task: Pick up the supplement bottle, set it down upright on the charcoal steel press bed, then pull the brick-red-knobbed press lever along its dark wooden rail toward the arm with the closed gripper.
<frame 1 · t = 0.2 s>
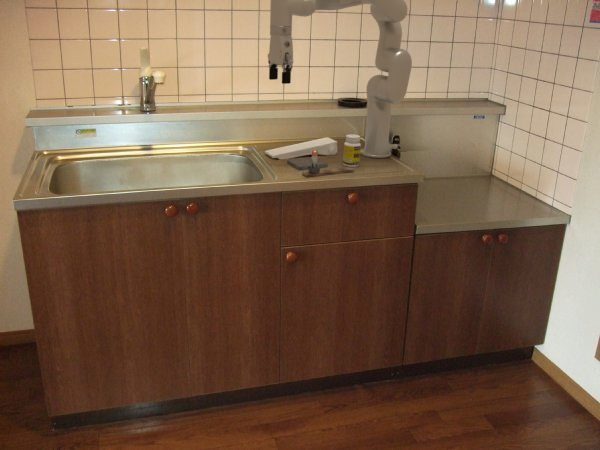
hand: (279, 81, 217), 31 cm above the countertop, tool pointing down, fingers open, 9 cm apart
press bed: (307, 165, 229), on the countertop
wall bracket: (301, 156, 244), on the countertop
lever rail: (328, 173, 220), on the countertop
supplement bottle: (350, 165, 232), on the countertop
press lever: (314, 160, 215), point 5 cm above the countertop, slide at 0.0 cm
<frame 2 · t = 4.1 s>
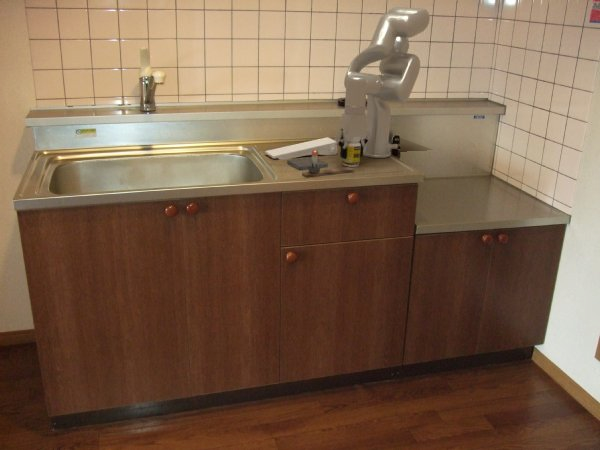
hand: (351, 156, 231), 3 cm above the countertop, tool pointing down, fingers closed on supplement bottle, 6 cm apart
supplement bottle: (350, 165, 232), on the countertop, touching gripper
everything else where it was.
when the fingers open (5 cm above the countertop, at t = 9.9 s): supplement bottle drops 1 cm, resting on press bed.
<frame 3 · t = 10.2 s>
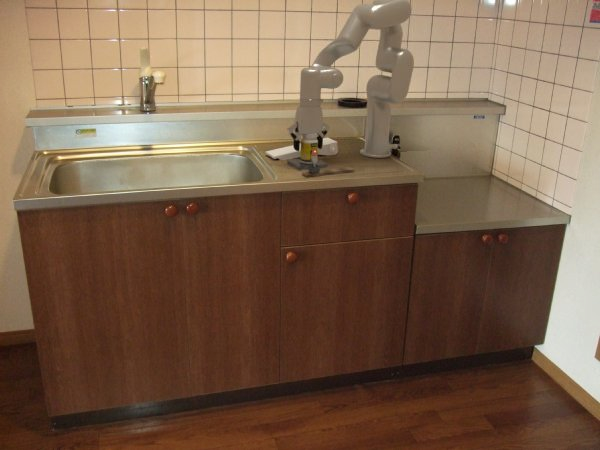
hand: (308, 149, 227), 6 cm above the countertop, tool pointing down, fingers open, 9 cm apart
supplement bottle: (308, 162, 229), point 1 cm above the countertop, touching press bed
everything else where it was.
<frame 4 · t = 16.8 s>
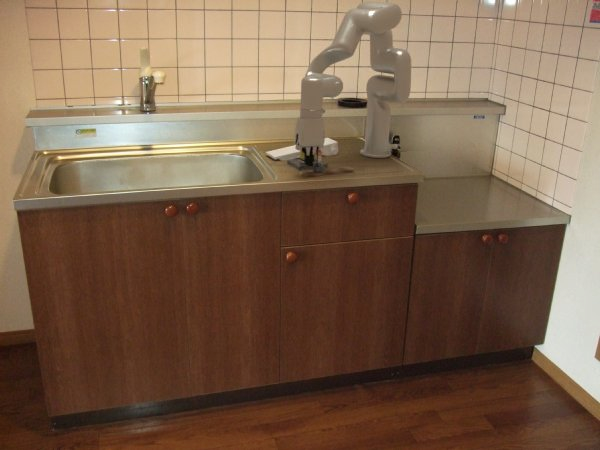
hand: (308, 165, 215), 4 cm above the countertop, tool pointing down, fingers closed
press lever: (318, 160, 216), point 5 cm above the countertop, slide at 1.7 cm, touching gripper
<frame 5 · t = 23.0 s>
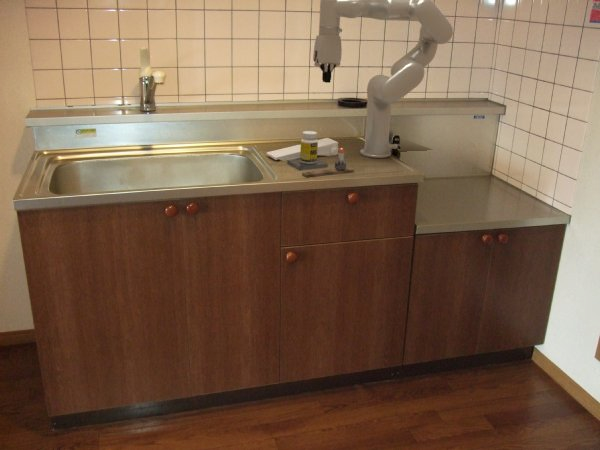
hand: (326, 82, 232), 29 cm above the countertop, tool pointing down, fingers closed
press lever: (340, 158, 220), point 5 cm above the countertop, slide at 10.9 cm
at the end: supplement bottle inside the target area on the press bed (0.4 cm from its centre), point 1.0 cm above the press bed's base; supplement bottle tilted 0°; press lever slide at 10.9 cm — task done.
